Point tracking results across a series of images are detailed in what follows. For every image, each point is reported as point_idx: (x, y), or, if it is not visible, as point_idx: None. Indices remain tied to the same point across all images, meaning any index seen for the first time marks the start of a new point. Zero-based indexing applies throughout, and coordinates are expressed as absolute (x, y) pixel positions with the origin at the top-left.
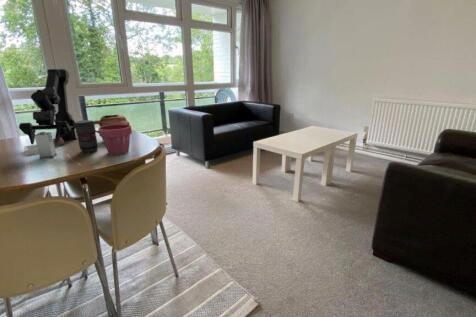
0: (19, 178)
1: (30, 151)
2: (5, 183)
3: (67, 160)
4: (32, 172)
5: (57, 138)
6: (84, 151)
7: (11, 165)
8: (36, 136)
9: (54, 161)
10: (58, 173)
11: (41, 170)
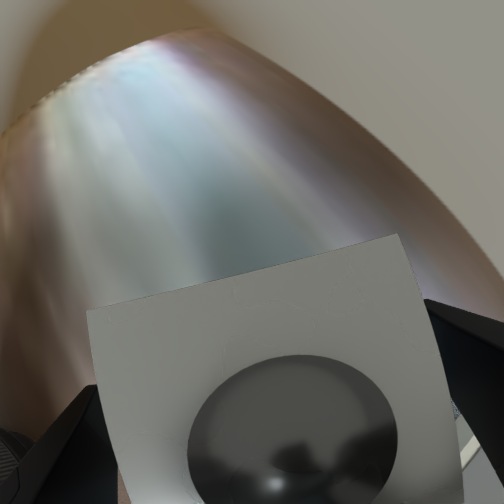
0: (201, 58)
1: (465, 430)
2: (223, 35)
3: (68, 283)
4: (184, 99)
5: (59, 434)
6: (19, 439)
7: (400, 193)
8: (353, 256)
9: (145, 264)
10: (70, 108)
11: (151, 120)
